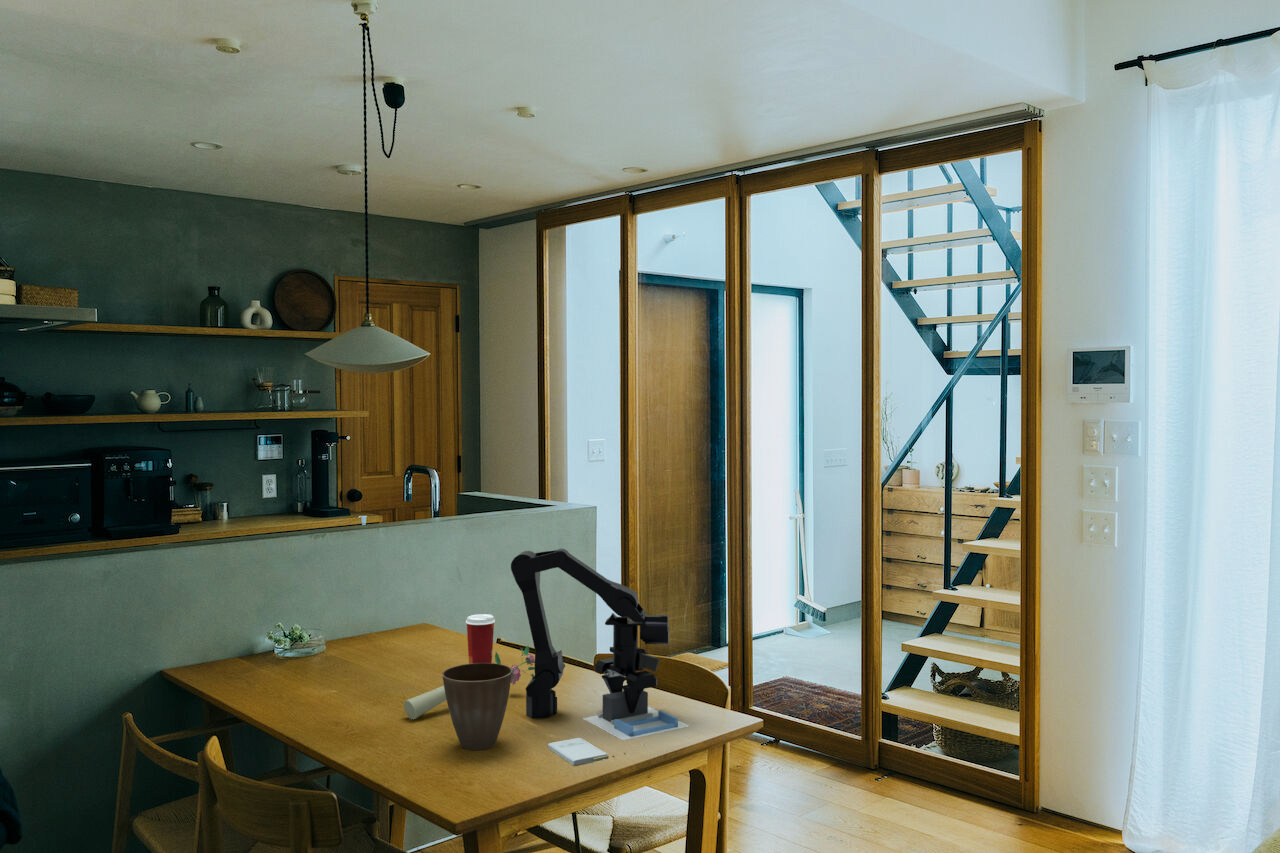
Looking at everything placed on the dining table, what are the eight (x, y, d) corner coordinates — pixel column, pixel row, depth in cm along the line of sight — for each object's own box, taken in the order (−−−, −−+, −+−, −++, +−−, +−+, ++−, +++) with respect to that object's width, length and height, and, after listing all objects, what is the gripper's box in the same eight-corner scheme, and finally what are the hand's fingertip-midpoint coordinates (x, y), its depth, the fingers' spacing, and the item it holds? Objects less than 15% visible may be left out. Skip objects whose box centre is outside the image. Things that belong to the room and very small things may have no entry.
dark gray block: (611, 722, 226) (611, 699, 226) (602, 718, 229) (602, 694, 229) (647, 715, 231) (647, 692, 231) (638, 711, 235) (638, 688, 234)
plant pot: (450, 760, 203) (450, 684, 203) (435, 738, 217) (435, 666, 217) (520, 751, 209) (520, 676, 209) (501, 729, 223) (501, 660, 223)
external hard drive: (573, 768, 201) (547, 750, 212) (608, 761, 205) (581, 743, 216) (573, 760, 201) (547, 742, 212) (608, 753, 205) (581, 736, 216)
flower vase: (410, 746, 234) (524, 685, 258) (434, 743, 225) (550, 681, 249) (393, 699, 235) (508, 643, 258) (416, 695, 226) (533, 637, 250)
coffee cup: (501, 669, 275) (501, 615, 275) (481, 675, 268) (481, 621, 268) (478, 664, 280) (478, 612, 279) (458, 671, 273) (458, 617, 272)
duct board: (622, 743, 214) (622, 731, 214) (582, 721, 229) (582, 709, 229) (689, 729, 224) (690, 717, 224) (646, 709, 239) (646, 697, 239)
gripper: (676, 647, 226) (676, 714, 227) (633, 631, 242) (632, 694, 242) (635, 653, 220) (635, 722, 221) (594, 637, 236) (593, 701, 236)
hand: (625, 709), depth 230 cm, fingers open, 6 cm apart
